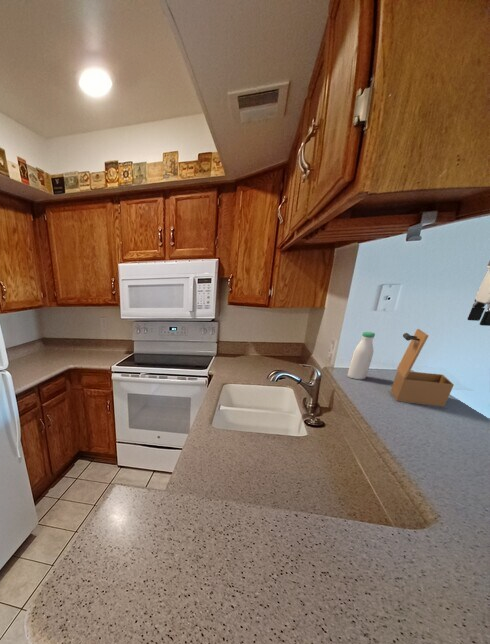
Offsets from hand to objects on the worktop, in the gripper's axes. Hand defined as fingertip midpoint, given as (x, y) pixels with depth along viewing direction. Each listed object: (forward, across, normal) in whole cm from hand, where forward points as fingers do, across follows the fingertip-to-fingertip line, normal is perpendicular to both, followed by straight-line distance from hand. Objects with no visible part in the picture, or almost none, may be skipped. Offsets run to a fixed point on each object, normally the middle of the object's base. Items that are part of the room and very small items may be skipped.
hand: (479, 322), depth 105 cm
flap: (+13, +9, +12) cm, 20 cm away
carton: (+30, +9, +6) cm, 32 cm away
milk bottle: (+31, +29, +25) cm, 49 cm away
